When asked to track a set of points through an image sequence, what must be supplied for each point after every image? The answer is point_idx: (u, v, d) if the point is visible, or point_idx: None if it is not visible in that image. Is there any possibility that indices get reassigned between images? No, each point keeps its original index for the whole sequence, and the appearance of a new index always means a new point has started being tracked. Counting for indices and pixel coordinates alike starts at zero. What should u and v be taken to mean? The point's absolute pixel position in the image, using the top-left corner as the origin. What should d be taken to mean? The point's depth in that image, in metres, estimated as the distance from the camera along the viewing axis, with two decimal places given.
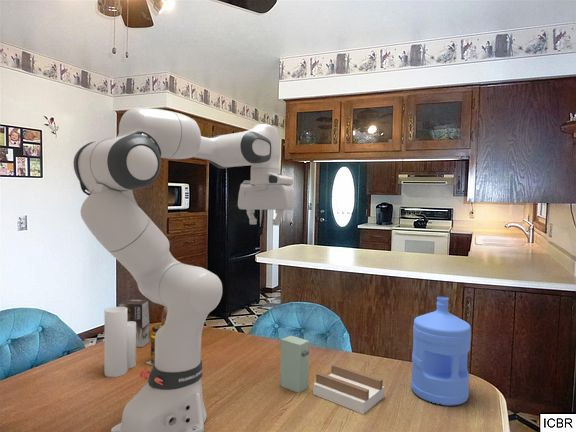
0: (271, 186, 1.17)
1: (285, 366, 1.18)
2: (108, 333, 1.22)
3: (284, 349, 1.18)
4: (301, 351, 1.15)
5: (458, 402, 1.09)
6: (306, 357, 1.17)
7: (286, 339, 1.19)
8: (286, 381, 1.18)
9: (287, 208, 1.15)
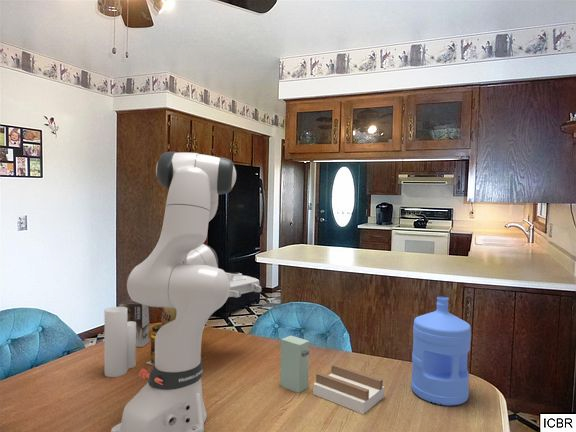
0: (236, 276, 1.41)
1: (285, 366, 1.18)
2: (108, 333, 1.22)
3: (284, 349, 1.18)
4: (301, 351, 1.15)
5: (458, 402, 1.09)
6: (306, 357, 1.17)
7: (286, 339, 1.19)
8: (286, 381, 1.18)
9: None
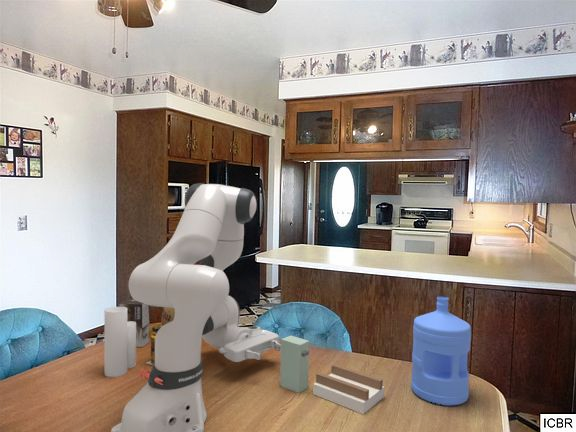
0: (255, 331, 1.35)
1: (285, 366, 1.18)
2: (108, 333, 1.22)
3: (284, 349, 1.18)
4: (301, 351, 1.15)
5: (458, 402, 1.09)
6: (306, 357, 1.17)
7: (286, 339, 1.19)
8: (286, 381, 1.18)
9: (278, 337, 1.35)
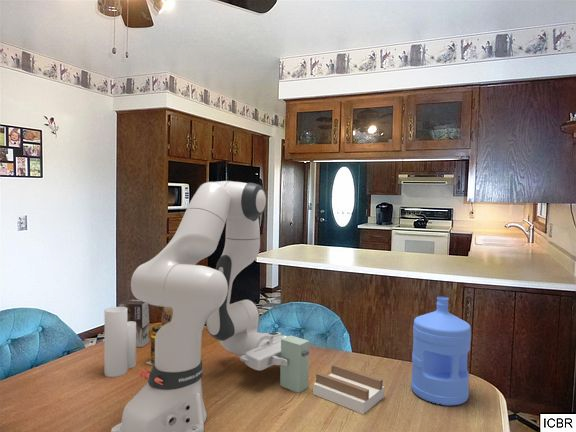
0: (276, 337, 1.29)
1: (285, 366, 1.18)
2: (108, 333, 1.22)
3: (284, 349, 1.18)
4: (301, 351, 1.15)
5: (458, 402, 1.09)
6: (306, 357, 1.17)
7: (286, 339, 1.19)
8: (286, 381, 1.18)
9: None
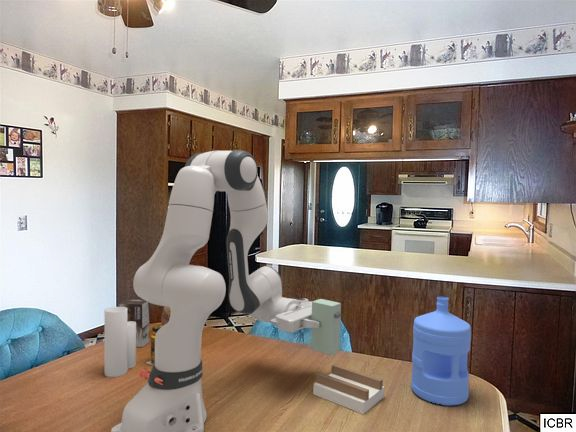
0: (304, 302, 1.27)
1: (316, 329, 1.15)
2: (108, 333, 1.22)
3: (316, 311, 1.15)
4: (334, 313, 1.12)
5: (458, 402, 1.09)
6: (338, 319, 1.14)
7: (317, 301, 1.16)
8: (317, 344, 1.15)
9: None
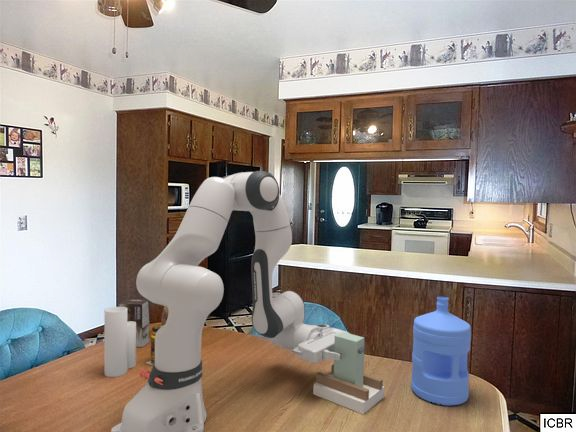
0: (325, 329, 1.24)
1: (339, 364, 1.13)
2: (108, 333, 1.22)
3: (339, 346, 1.13)
4: (357, 348, 1.10)
5: (458, 402, 1.09)
6: (362, 354, 1.12)
7: (340, 336, 1.14)
8: (340, 379, 1.13)
9: None
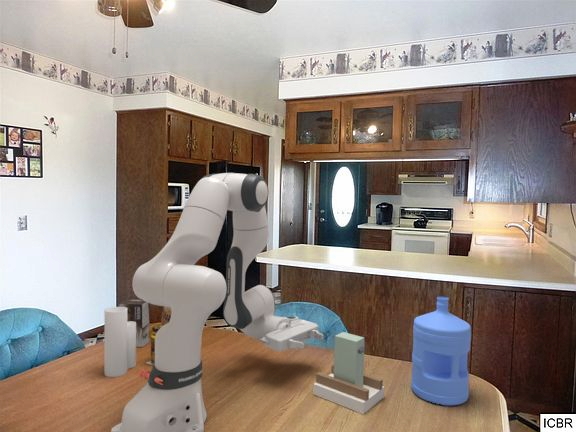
0: (294, 321, 1.32)
1: (339, 364, 1.13)
2: (108, 333, 1.22)
3: (339, 346, 1.13)
4: (357, 348, 1.10)
5: (458, 402, 1.09)
6: (362, 354, 1.12)
7: (340, 336, 1.14)
8: (340, 379, 1.13)
9: None
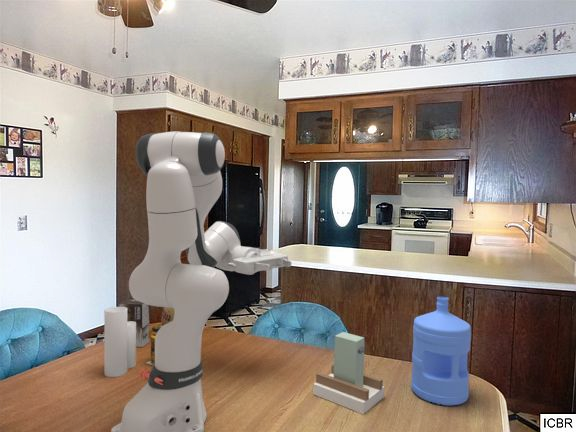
0: (264, 251, 1.34)
1: (339, 364, 1.13)
2: (108, 333, 1.22)
3: (339, 346, 1.13)
4: (357, 348, 1.10)
5: (458, 402, 1.09)
6: (362, 354, 1.12)
7: (340, 336, 1.14)
8: (340, 379, 1.13)
9: (287, 257, 1.33)
